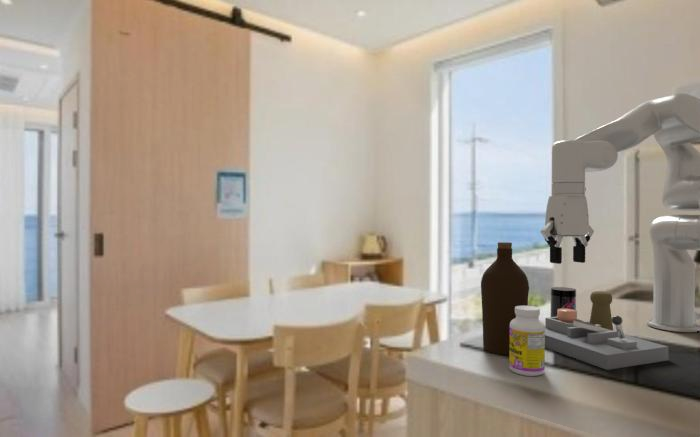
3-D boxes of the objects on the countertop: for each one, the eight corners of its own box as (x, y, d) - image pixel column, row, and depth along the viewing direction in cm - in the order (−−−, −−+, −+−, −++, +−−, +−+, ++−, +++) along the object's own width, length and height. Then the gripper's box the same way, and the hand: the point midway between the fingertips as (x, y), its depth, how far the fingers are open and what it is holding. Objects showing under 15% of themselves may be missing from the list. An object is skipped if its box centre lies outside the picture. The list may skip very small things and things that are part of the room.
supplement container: (549, 326, 131) (549, 289, 131) (550, 321, 137) (550, 286, 137) (576, 329, 128) (576, 291, 128) (576, 323, 134) (576, 288, 134)
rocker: (600, 331, 111) (601, 326, 111) (615, 335, 107) (616, 330, 107) (572, 324, 108) (574, 319, 108) (587, 328, 104) (588, 323, 104)
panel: (578, 333, 123) (578, 313, 123) (668, 360, 100) (668, 335, 100) (523, 340, 116) (523, 318, 116) (607, 369, 94) (607, 342, 94)
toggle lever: (620, 334, 102) (615, 313, 101) (628, 336, 100) (623, 315, 100) (614, 338, 101) (608, 317, 101) (622, 340, 100) (616, 319, 99)
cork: (617, 335, 121) (617, 293, 121) (592, 334, 122) (592, 293, 122) (609, 330, 127) (609, 290, 127) (585, 329, 128) (585, 289, 128)
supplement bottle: (503, 366, 96) (504, 304, 96) (534, 365, 97) (534, 304, 96) (518, 377, 89) (518, 311, 89) (551, 376, 90) (551, 310, 90)
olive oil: (503, 358, 101) (504, 244, 101) (471, 346, 111) (471, 241, 111) (538, 352, 106) (539, 243, 106) (504, 341, 115) (505, 240, 115)
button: (566, 319, 118) (566, 308, 118) (581, 323, 114) (581, 311, 114) (553, 321, 116) (553, 309, 116) (567, 325, 112) (567, 312, 112)
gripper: (582, 192, 121) (581, 260, 121) (529, 190, 115) (528, 262, 115) (607, 190, 114) (606, 263, 114) (552, 189, 108) (551, 265, 108)
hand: (567, 262), depth 115 cm, fingers open, 6 cm apart
